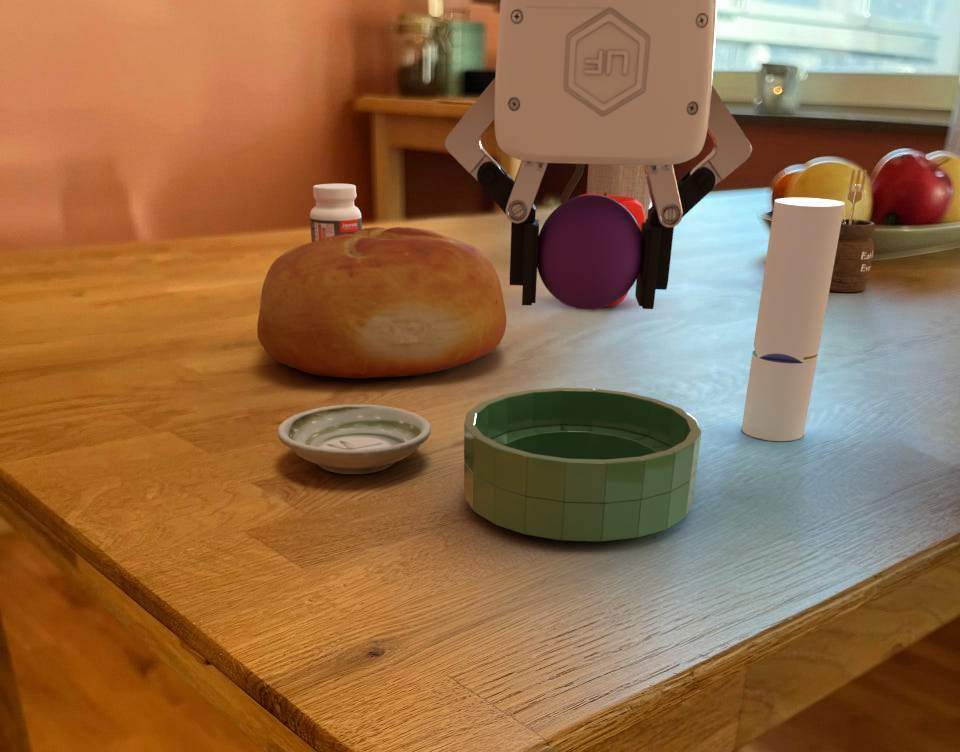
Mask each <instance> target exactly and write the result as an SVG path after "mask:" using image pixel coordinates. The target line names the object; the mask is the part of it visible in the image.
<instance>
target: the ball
mask: <svg viewBox="0 0 960 752" xmlns="http://www.w3.org/2000/svg"><path fill="white" fill-rule="evenodd" d="M581 195H582V196H580V195H578V196H575V197H572V198H570V199H568V200H566V201H565V202H563V203H561V204H560V205H559V206H557V207H556V208H555V209H553V211H552V212H551V213H550V214H549V215H548V217H547V218H546V219H545V221H544V222H543V225H542V227H541V228H540V230H539V238H538V259H537V273H538V275H539V277H540V279H541V282H542V283H543V285H544V287H545V288H546V289H547V291H548V293H550V294H551V295H552V297H553V298H555V299H556V300H558V301H559V302H561V303H562V304H564V305H566V306H568V307H571V308H574V309H578V310H589V311H591V310H597V309H603V308H605V307H609V306H608V305H610V304H612V303H614V302H616V301H617V300H619V299H620V298H621V297H623V296H624V295H625V294H626V293H627V292H628V293H629V291H630V290H631V289H632V288H633V286H634V284H636V280H637V277H638V275H639V273H640V270H641V266H642V260H643V237H642V233H641V230H640V227H639V225H638V223H637V221H636V219H635V218H634V216H633V215H632V214H631V213H630V211H629V210H628V209H627V208H626V207H624V206H623V205H622V204H621V203H619V202H617V201H616V200H614V199H611V198H609V197H606V196H602V195H593V194H590V195H584V194H581ZM628 293H627V294H628Z"/></svg>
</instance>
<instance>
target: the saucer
mask: <svg viewBox="0 0 960 752" xmlns="http://www.w3.org/2000/svg"><path fill="white" fill-rule="evenodd" d="M431 431H432V427H431V424H430V422H429V421H428V420H427V419H426V418H425V417H423V416H422V415H420V414H417V413H415V412H412V411H409V410H407V409H403V408H399V407H394V406H387V405H379V404H365V403H363V404H361V403H360V404H352V403H351V404H337V405H330V406H322V407H317V408H313V409H309V410H305V411H302V412H298V413H296V414H294V415H292V416H290V417H288V418H286V419H285V420H283V421H282V423H280V424H279V425H278V427H277V437H278V440H279V441H280V443H282V444H283V445H284V446H286V447H287V448H289V449H290V450H291V451H292V452H293V453H295V455H297V456H298V457H300V458H302V459H304V460H306V461H307V462H310V463H313V464H316V465H318V466H319V467H320V468H321V469H323V470H325V471H327V472H331V473H333V474H340V475H341V474H342V475H366V474H372V473H373V474H374V473H377V472H378V473H379V472H381V471H384V470H387V469H388V468H390V467H392V466H393V465H395V463H396V462H399V461H401V460H403V459H406V458H407V457H409V456H410V455H412V454H413V453H415V452H416V450H417V449H418V448H420V447H421V445H422V444H424V443H425V442H426V441H428V439H429V438H430V436H431Z"/></svg>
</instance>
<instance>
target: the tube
mask: <svg viewBox="0 0 960 752" xmlns="http://www.w3.org/2000/svg"><path fill="white" fill-rule="evenodd" d="M845 206H846V205H845V202H844V201H843V202H842V200H841V201H840V200H836V199H828V198H818V197H781V198H780V197H779V198H776V199H774V203H773V208H772V217H771V223H770V229H769V237H768V242H767V243H768V244H767V251H766V258H765V265H764V272H763V279H762V285H761V286H762V287H761V292H760V297H759V306H758V312H757V318H756V327H755V332H754V338H753V339H754V340H753V348H754V350H753V351H752V354H751V360H750V367H749V374H748V380H747V387H746V394H745V401H744V409H743V414H742V422H741V431H742V432H743V433H744V434H745V435H747V436H749V437H752V438H755V439H758V440H763V441H771V442H790V441H796V440H798V439H801V438H803V436H804V434H805V429H806V423H807V419H808V412H809V406H810V402H811V401H810V400H811V396H812V390H813V384H814V378H815V373H816V368H817V367H816V366H817V361H818V355H819V351H820V350H819V349H820V344H821V339H822V334H823V328H824V322H825V317H826V311H827V306H828V300H829V296H830V295H829V294H830V291H829V290H830V284H831V278H832V273H833V267H834V261H835V256H836V250H837V244H838V239H839V233H840V227H841V222H842V219H843V217H844V207H845Z"/></svg>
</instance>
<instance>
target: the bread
mask: <svg viewBox="0 0 960 752" xmlns="http://www.w3.org/2000/svg"><path fill="white" fill-rule="evenodd" d="M256 326H257V327H256V330H257V339H258V341H259V343H260V345H261V346H262V348H263V349H264V351H266V352H267V353H268V354H269V355H270V356H271V357H272V358H273V359H274V360H276V362H279V363H281V364H283V365H286V366H288V367H290V368H293V369H296V370H299V371H302V372H304V373H308V374H311V375H315V376H321V377H322V376H323V377H331V378H346V379H371V378H397V377H410V376H420V375H427V374H431V373H436V372H441V371H445V370H449V369H451V368H455V367H458V366H462V365H464V364H467V363H469V362H472V361H475V360H476V359H479V358H481V357H483V356H485V355H487V354H488V353H491V352H492V351H493V350H495V349H496V348H497V347H498V346H499V344H500V343H501V341H502V339H503V338H504V335H505V333H506V328H507V312H506V305H505V300H504V292H503V288H502V285H501V281H500V278H499V276H498V273H497V271H496V268H495V267H494V265H493V263H492V262H491V260H490V259H489V257H488V256H487V255H486V254H485V253H484V252H483V251H482V250H481V249H480V248H478V247H477V246H475V245H473V244H470V243H468V242H465V241H463V240H460V239H456V238H454V237H450V236H447V235H444V234H441V233H438V232H435V231H434V230H430V229H424V228H419V227H418V228H416V227H410V226H409V227H407V226H406V227H405V226H404V227H403V226H402V227H401V226H396V227H389V228H385V227H378V226H376V227H375V226H373V227H366V228H365V227H364V228H362V230H359V231H357V232H355V233H353V234H352V233H350V234H341V235H336V236H331V237H328V238H325V239H321V240H318V241H315V242H312V241H311V242H308V243H305V244H302V245H298V246H295V247H294V248H291V249H290V250H287V251H285V252H284V253H283V254H281V255H279V256H278V257H277V258H275V260H274V261H273V262H272V263H271V264H270V267H269V269H268V270H267V273H266V275H265V278H264V280H263V283H262V289H261V294H260V302H259V313H258V316H257V323H256Z"/></svg>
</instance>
